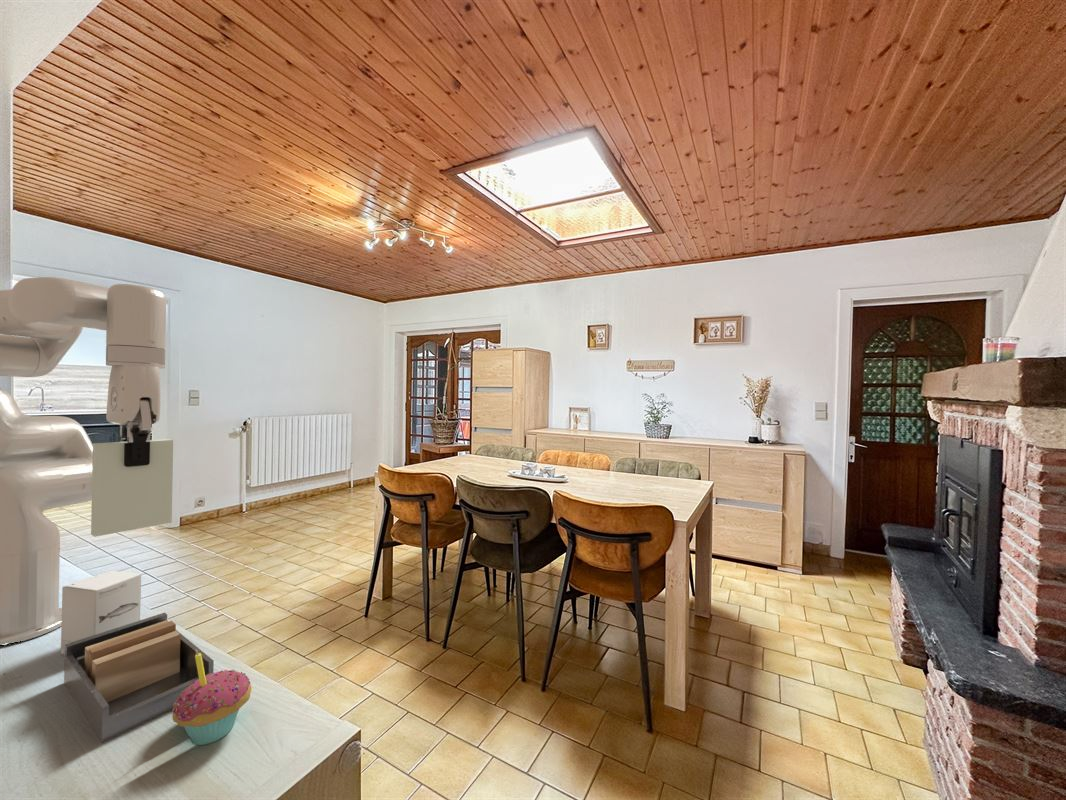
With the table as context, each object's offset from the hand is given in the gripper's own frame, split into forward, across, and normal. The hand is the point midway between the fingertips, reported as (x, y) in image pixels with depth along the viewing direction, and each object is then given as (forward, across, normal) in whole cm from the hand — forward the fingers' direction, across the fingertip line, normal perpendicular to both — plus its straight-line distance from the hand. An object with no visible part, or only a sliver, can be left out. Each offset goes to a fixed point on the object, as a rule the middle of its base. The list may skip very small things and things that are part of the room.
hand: (134, 464), depth 74 cm
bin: (+33, +14, -2) cm, 36 cm away
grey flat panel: (+11, 0, 0) cm, 11 cm away
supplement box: (+33, -5, -2) cm, 34 cm away
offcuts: (+32, +12, -2) cm, 34 cm away
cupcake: (+33, +31, +1) cm, 45 cm away
